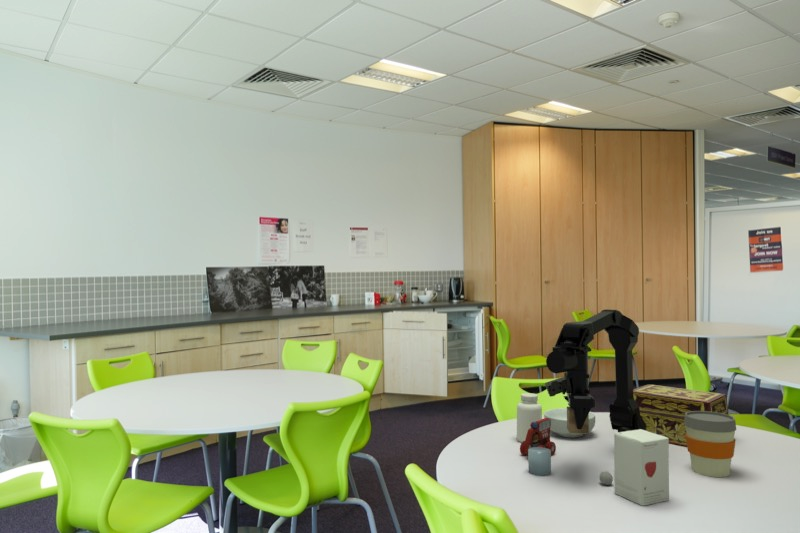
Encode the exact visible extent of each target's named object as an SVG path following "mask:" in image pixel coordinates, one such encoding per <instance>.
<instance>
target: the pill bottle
mask: <svg viewBox="0 0 800 533" xmlns="http://www.w3.org/2000/svg"><path fill="white" fill-rule="evenodd" d="M542 413H543V408H542V405H541V404H540V403H539V402H538V394H536V393H531V392H530V393H529V392H523V393H521V394H520V402H518V403H517V405H516V440H517V441H518V442H520V443H522V442H523V441H525V439H526V435H527V432H528V429H530V428H531V427H530V425H531V423H532V422H536V421H539V420H541V419H543V414H542Z"/></svg>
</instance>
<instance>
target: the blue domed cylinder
mask: <svg viewBox="0 0 800 533" xmlns="http://www.w3.org/2000/svg"><path fill="white" fill-rule="evenodd" d="M527 457H528V465H527V466H528V473H529V474H530V475H533V476H537V477H546V476H547V477H548V476H550V475H552V456H551V450H550V449H547V448H543V447H532V448H529V449H528V455H527Z"/></svg>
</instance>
